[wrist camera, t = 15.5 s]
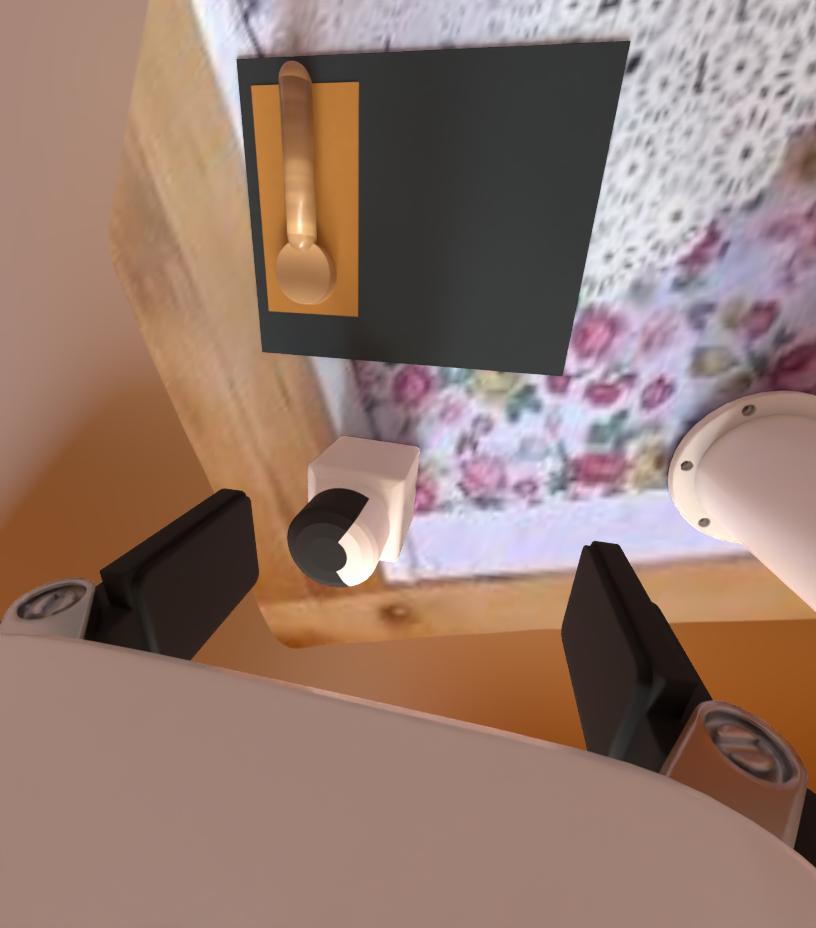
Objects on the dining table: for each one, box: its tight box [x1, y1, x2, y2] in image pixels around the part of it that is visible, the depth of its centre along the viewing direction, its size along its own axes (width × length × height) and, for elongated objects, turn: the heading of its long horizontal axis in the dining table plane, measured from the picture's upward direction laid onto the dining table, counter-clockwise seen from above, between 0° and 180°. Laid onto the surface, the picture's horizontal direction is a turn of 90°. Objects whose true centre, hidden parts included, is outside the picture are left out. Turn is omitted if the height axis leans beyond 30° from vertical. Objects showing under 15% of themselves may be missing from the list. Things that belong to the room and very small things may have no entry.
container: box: [287, 436, 420, 587], centre depth 31 cm, size 8×8×13 cm
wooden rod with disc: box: [275, 61, 336, 305], centre depth 28 cm, size 15×5×2 cm, turn 177°
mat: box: [237, 41, 630, 376], centre depth 29 cm, size 26×20×1 cm
